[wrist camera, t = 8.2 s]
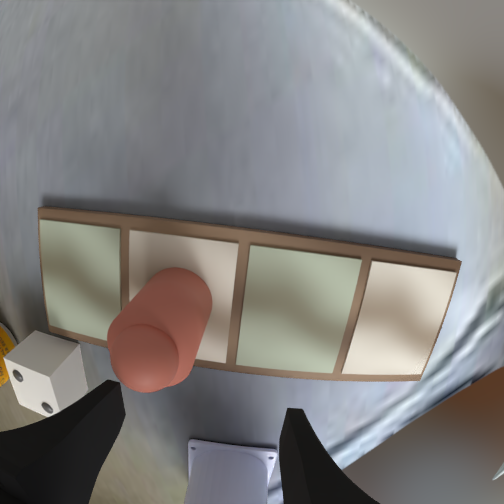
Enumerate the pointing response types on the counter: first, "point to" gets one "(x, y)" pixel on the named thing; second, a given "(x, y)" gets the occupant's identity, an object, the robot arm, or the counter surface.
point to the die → (46, 373)
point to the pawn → (160, 331)
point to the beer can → (5, 351)
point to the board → (254, 293)
